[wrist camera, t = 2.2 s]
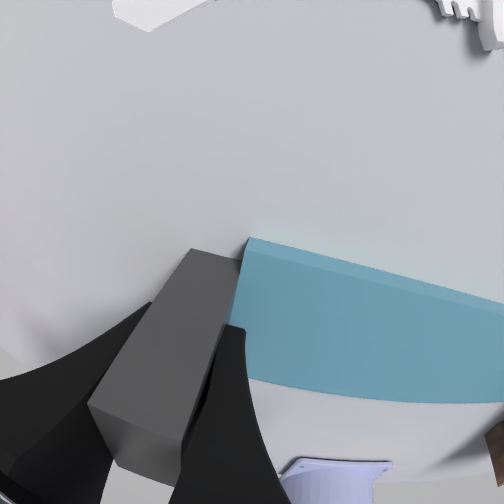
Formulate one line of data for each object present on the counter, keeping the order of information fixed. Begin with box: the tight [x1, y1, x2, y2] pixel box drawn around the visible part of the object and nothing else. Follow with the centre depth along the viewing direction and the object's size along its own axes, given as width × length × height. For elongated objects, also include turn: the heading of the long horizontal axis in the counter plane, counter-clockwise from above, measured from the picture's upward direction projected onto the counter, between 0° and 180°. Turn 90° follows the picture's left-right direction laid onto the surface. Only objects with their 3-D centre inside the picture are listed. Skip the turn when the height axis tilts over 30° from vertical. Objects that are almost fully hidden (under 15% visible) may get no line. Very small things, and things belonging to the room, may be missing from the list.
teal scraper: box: [87, 237, 504, 487], centre depth 8 cm, size 6×23×7 cm, turn 79°
